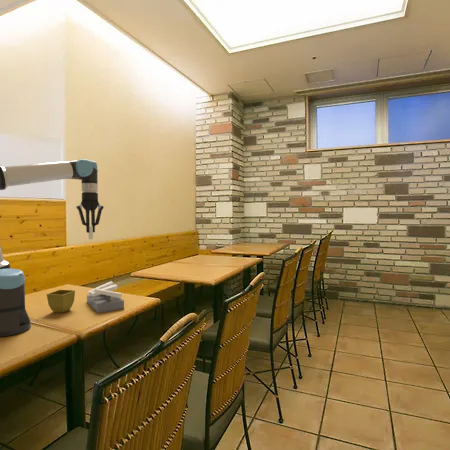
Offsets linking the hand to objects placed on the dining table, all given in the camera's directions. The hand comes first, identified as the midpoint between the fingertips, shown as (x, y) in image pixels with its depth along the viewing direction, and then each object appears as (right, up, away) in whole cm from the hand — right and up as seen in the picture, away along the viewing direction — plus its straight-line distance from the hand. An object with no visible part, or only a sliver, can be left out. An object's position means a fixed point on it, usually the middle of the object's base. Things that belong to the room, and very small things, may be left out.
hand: (90, 239), depth 167 cm
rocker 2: (+9, -25, -4) cm, 27 cm away
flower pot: (-8, -33, -13) cm, 37 cm away
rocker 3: (+12, -25, -10) cm, 30 cm away
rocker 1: (+5, -25, +1) cm, 25 cm away
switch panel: (+9, -33, -4) cm, 34 cm away
